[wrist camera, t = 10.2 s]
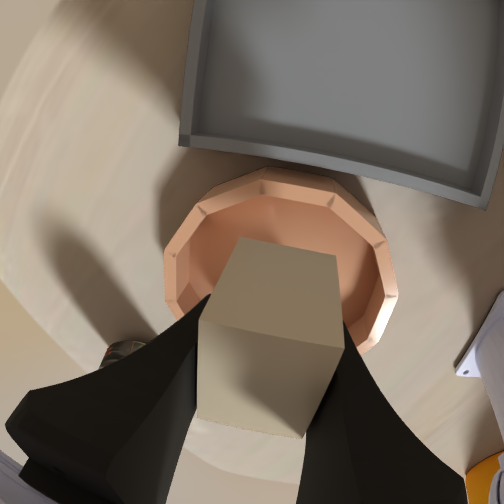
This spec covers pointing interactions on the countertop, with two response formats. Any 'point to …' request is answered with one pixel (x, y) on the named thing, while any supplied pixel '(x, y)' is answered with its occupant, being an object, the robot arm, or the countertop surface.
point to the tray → (353, 88)
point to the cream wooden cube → (269, 339)
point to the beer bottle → (482, 479)
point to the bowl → (286, 242)
